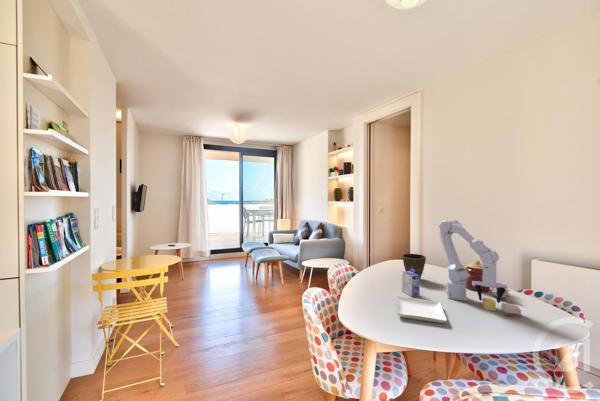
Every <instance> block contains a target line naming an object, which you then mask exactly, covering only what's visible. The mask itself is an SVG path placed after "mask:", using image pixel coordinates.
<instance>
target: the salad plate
mask: <svg viewBox="0 0 600 401" xmlns="http://www.w3.org/2000/svg"><path fill="white" fill-rule="evenodd" d="M396 304H397V305H396V306H397V307H396V314H397V315H398V316H399V317H402V318H405V319H410V318H411V319H412V320H417V321H423V322H424V321H426V322H432V323H440V324H442V323H443V324H444V323H446V322H447V321H448V318H447V316H446V314H445V312H444V309H443V306H442V304H441V302H440V301H435V300H428V299H421V298H414V297H405V296H397V297H396Z"/></svg>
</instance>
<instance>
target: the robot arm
mask: <svg viewBox="0 0 600 401" xmlns="http://www.w3.org/2000/svg"><path fill="white" fill-rule="evenodd" d="M438 228H439V238H440V241H441V244H442V247H443V250H444V253H445V256H446V259H447V261H448V264H449V266H448V269H447V271H448V278H449V280H447V281H446V296H447V298H448V299H451V300H458V301H465V302H468V301H469V299H468V297H467V288H466V280H467V279H468V278H469V274H468V272H467V271H466V269H465V268H466V267H465V266H464V265H463V264H462V263H461V260H460V259H459V256H458V252H457V250H456V248H455V245H454V242H453V240H452V236H453V235H454V234H457V235H459V236H460V237H461V238H463V239H464V241H466V242H468V243H469V247H470V249H472V250H473V251H474V252H475V253H476V254H477V255H478V256H479V259H480V262H481V263H482V265H483V280H482V281H472V285H473V286H475V288H476V290H477V291H476V292H477V295H478V296H477V297H478V300H479V301H482V302H483V296H482V293H483V292H482V288H481V286H484V287H490V288H491V287H492V288H497V297H496V302H497V304H500V302H501V299H502V298H501V297H502V296H503V294H504V293H505V289H507V290H508V285H507V284H505V283H501V282H500V283H501V284H500V283H499V282H497V262H498V260H499V258H500V256H499V253H497V252H496V251H495V250H491V248H489V247H488V246H486V245H485V244H484V242H483V241H482V240H480V239H475V238H474V237H473V235H472V234H471V233H469V231H468V230H467V229H466V228H464V227H463V225H462V223H461V222H459V221H458V220H457V219H451V220H450V219H449V220H442V221H441V222H440V223H439V226H438Z"/></svg>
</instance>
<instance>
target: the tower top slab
mask: <svg viewBox="0 0 600 401" xmlns="http://www.w3.org/2000/svg"><path fill="white" fill-rule="evenodd" d="M502 309H503V310H504V311H505V312H507V313H514V314H520V315H521V316H522V309H520V307H519V306H518V305H517V304H511V303H504V302H501V310H502Z"/></svg>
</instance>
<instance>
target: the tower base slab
mask: <svg viewBox="0 0 600 401" xmlns="http://www.w3.org/2000/svg"><path fill="white" fill-rule="evenodd" d="M501 312H502V314H503V315H504V316H505V317H507V318H514V319H515V318H516V319H522V314H521V315H520V314H514V313H507V312H505V311H504V310H503V309H502V308H501Z"/></svg>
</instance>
